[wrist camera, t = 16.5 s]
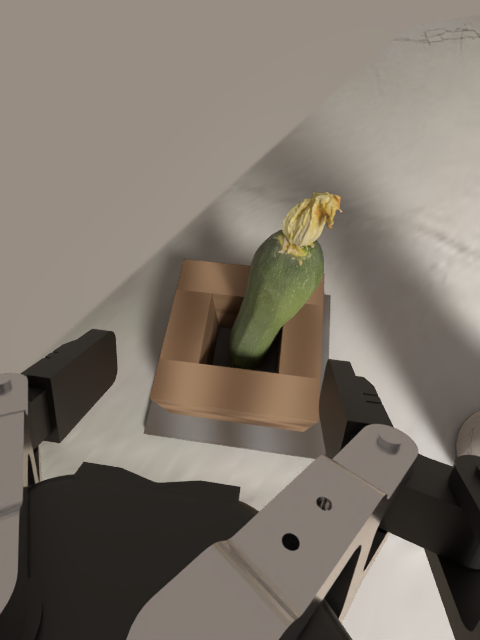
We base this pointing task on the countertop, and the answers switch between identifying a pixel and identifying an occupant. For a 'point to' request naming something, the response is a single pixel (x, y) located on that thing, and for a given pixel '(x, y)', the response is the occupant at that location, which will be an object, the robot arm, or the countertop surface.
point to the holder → (238, 370)
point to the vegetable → (281, 279)
